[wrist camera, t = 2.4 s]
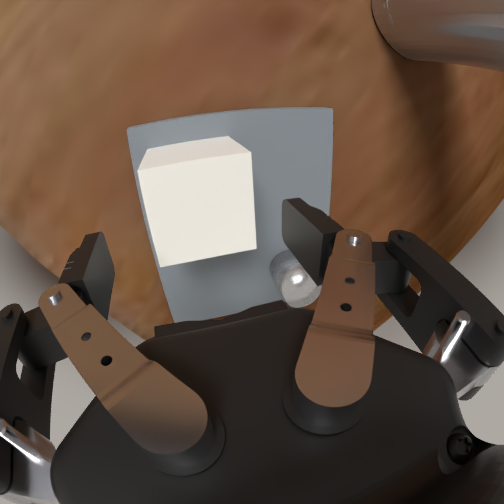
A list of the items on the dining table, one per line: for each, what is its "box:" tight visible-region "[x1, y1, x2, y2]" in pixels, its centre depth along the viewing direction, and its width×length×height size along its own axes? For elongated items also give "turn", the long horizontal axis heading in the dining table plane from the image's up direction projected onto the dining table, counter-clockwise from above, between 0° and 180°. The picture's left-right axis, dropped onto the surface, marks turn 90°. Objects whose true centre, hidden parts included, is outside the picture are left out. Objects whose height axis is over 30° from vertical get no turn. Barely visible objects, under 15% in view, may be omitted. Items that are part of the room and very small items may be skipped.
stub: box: [269, 250, 322, 308], centre depth 24 cm, size 3×3×4 cm
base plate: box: [127, 107, 333, 323], centre depth 23 cm, size 15×18×2 cm
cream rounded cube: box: [137, 136, 257, 267], centre depth 17 cm, size 6×6×6 cm
